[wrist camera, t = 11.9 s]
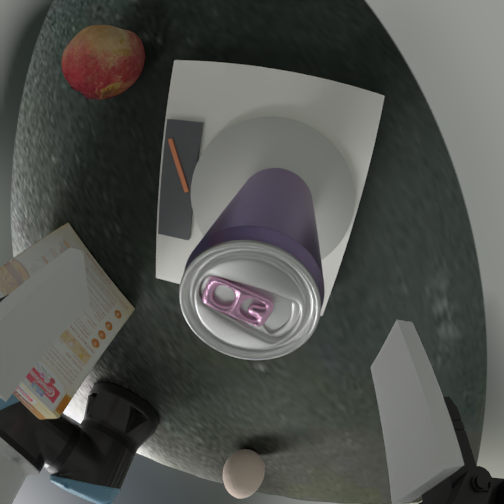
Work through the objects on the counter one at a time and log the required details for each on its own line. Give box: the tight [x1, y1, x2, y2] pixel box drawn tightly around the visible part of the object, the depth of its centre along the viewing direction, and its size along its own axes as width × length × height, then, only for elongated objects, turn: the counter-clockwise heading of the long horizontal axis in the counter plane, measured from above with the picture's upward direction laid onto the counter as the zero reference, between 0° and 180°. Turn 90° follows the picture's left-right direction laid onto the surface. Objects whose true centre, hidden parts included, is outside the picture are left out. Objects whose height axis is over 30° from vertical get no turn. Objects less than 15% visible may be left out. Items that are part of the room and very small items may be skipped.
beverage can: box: [179, 168, 325, 360], centre depth 18 cm, size 6×6×15 cm
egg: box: [223, 449, 265, 498], centre depth 46 cm, size 8×8×11 cm
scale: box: [156, 60, 385, 316], centre depth 27 cm, size 18×22×4 cm
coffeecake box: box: [0, 223, 135, 420], centre depth 28 cm, size 15×7×20 cm, turn 34°
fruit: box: [62, 25, 145, 100], centre depth 21 cm, size 8×8×8 cm
